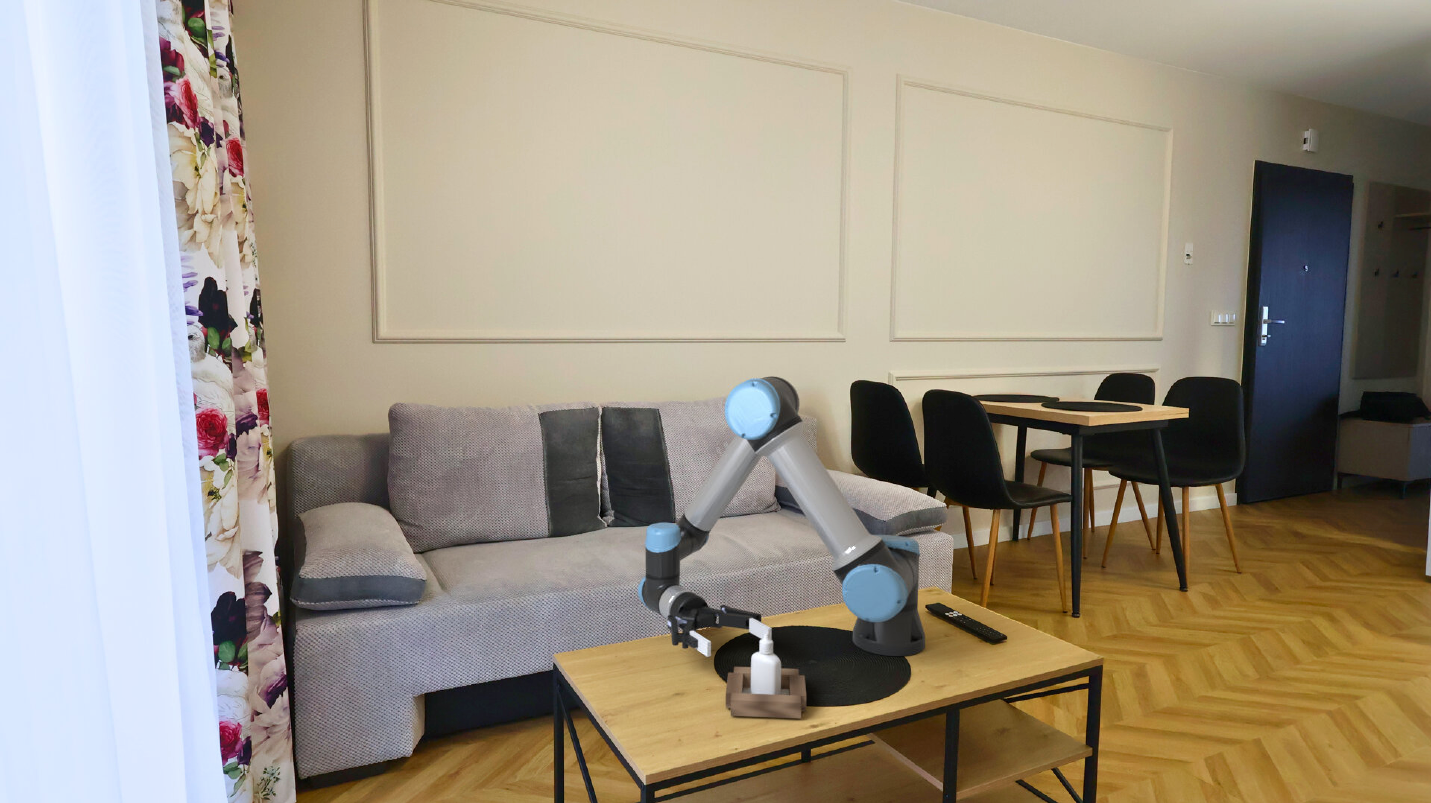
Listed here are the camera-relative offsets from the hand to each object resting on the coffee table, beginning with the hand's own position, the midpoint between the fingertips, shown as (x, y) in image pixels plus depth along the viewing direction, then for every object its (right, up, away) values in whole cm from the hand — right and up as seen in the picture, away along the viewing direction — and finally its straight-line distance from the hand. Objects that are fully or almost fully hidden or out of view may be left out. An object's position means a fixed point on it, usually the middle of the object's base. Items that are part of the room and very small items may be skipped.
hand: (740, 642), depth 154 cm
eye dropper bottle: (+4, -8, -6) cm, 11 cm away
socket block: (+4, -9, -6) cm, 12 cm away
